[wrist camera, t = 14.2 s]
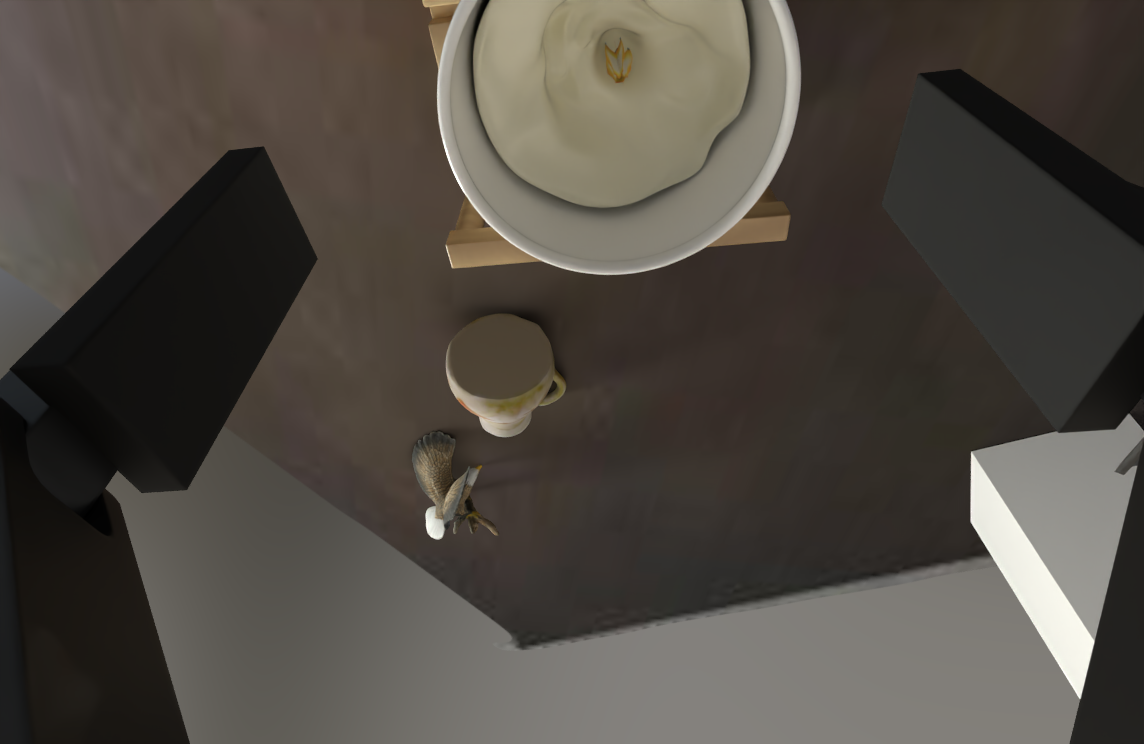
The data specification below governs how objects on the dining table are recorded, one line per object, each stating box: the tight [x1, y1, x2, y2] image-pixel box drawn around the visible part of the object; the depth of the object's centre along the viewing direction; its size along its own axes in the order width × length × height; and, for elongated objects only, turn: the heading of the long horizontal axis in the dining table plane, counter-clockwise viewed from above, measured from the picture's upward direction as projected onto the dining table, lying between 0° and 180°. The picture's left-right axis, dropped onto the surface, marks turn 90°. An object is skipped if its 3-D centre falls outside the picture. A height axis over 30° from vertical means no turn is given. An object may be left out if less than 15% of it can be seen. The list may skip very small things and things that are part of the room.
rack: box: [422, 0, 791, 268], centre depth 24 cm, size 13×15×11 cm
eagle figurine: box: [412, 431, 499, 539], centre depth 50 cm, size 8×7×9 cm
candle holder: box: [437, 0, 801, 275], centre depth 20 cm, size 10×10×12 cm
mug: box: [446, 313, 566, 437], centre depth 41 cm, size 8×10×10 cm
